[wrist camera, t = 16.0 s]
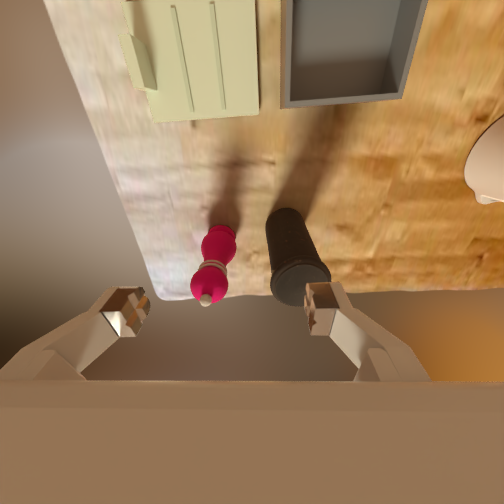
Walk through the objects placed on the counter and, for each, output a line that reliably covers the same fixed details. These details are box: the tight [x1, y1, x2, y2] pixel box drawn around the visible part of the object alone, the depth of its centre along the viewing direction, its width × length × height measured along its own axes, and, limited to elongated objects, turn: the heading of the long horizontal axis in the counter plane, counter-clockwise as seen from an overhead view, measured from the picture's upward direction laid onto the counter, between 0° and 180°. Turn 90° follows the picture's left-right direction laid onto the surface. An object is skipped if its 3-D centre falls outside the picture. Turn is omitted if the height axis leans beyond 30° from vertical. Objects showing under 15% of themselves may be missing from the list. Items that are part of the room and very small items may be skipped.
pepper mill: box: [190, 225, 236, 306], centre depth 38 cm, size 7×7×20 cm
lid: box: [118, 0, 259, 123], centre depth 28 cm, size 17×13×6 cm
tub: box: [280, 0, 428, 109], centre depth 27 cm, size 16×12×6 cm
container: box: [266, 208, 331, 306], centre depth 37 cm, size 9×9×20 cm
